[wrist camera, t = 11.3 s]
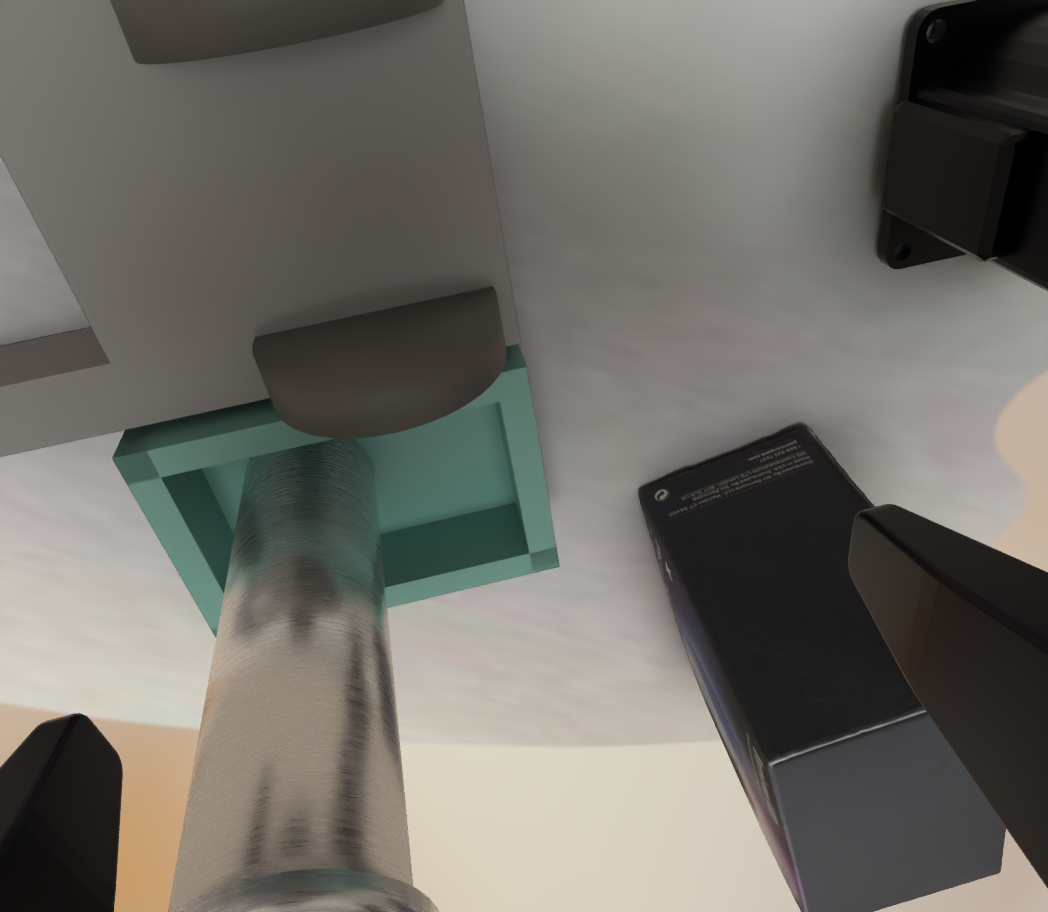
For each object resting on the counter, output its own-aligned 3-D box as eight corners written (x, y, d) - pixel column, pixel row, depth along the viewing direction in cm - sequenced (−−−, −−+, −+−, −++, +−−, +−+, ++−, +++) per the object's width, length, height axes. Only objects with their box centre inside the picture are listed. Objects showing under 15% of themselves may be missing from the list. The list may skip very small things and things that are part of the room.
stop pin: (325, 383, 20) (320, 904, 9) (417, 490, 23) (510, 1013, 11) (194, 468, 21) (23, 1072, 9) (298, 565, 23) (267, 1142, 12)
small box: (622, 488, 25) (758, 771, 17) (808, 416, 25) (1042, 667, 16) (685, 672, 31) (807, 947, 23) (834, 616, 31) (1015, 874, 23)
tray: (506, 316, 21) (526, 367, 18) (539, 504, 25) (559, 566, 22) (141, 395, 20) (112, 458, 18) (234, 575, 24) (221, 647, 22)
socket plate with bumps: (433, -105, 15) (466, -121, 11) (504, 302, 21) (546, 407, 16) (-395, 44, 14) (-743, 95, 10) (-99, 432, 20) (-236, 582, 15)
